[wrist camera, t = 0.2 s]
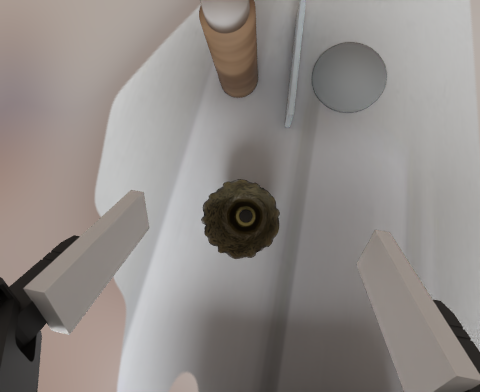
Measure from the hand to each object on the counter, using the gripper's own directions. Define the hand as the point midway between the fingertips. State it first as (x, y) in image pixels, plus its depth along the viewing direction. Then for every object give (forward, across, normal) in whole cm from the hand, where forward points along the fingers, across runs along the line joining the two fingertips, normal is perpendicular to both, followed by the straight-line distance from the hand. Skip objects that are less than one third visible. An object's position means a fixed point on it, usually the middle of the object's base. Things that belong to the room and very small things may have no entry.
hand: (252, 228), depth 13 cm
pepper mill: (+23, +5, -5) cm, 24 cm away
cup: (+13, +1, +9) cm, 16 cm away
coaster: (+24, -9, -7) cm, 27 cm away
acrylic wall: (+24, -2, -7) cm, 25 cm away
